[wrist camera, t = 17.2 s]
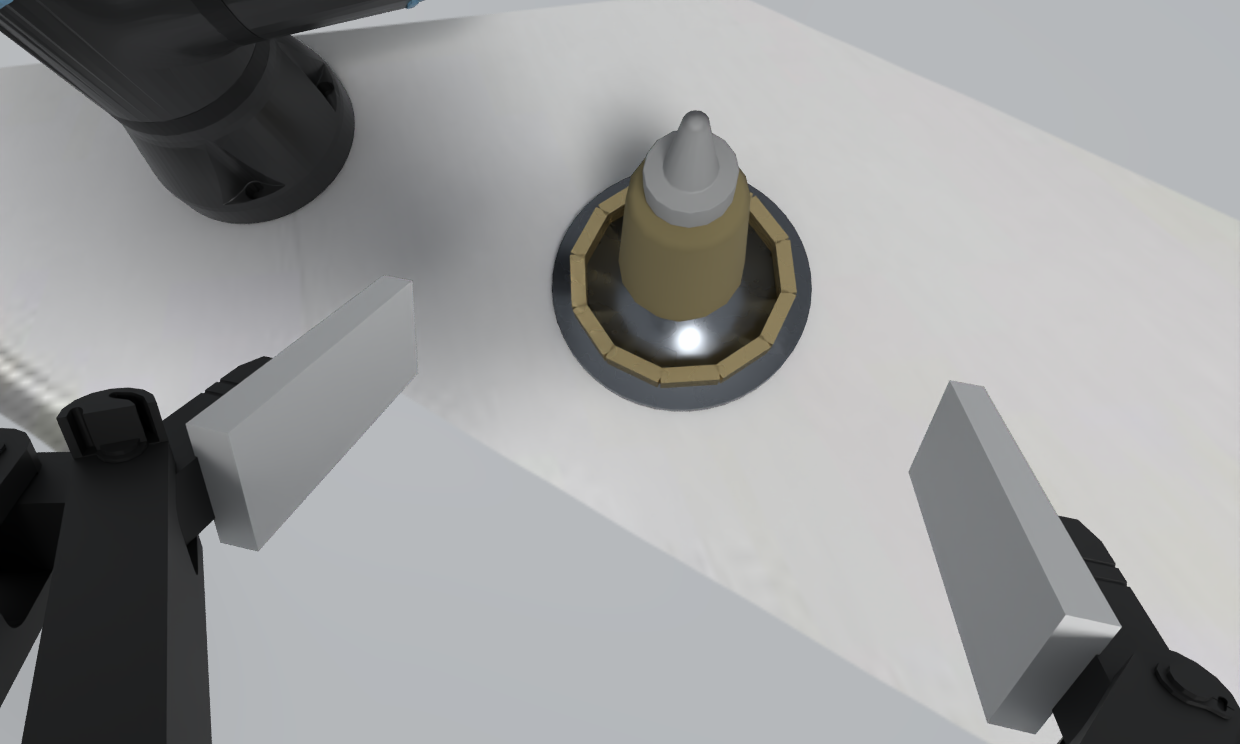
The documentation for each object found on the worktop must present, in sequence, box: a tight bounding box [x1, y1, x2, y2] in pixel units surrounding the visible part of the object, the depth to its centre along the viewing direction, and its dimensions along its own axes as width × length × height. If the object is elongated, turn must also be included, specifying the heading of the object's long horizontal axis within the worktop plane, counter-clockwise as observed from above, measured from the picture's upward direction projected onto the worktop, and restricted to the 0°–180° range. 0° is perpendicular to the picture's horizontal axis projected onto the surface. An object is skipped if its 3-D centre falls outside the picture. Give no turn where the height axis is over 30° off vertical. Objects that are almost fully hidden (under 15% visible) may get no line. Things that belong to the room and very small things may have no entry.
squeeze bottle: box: [619, 110, 751, 322], centre depth 36 cm, size 8×8×18 cm
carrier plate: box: [552, 177, 812, 411], centre depth 45 cm, size 18×18×2 cm
